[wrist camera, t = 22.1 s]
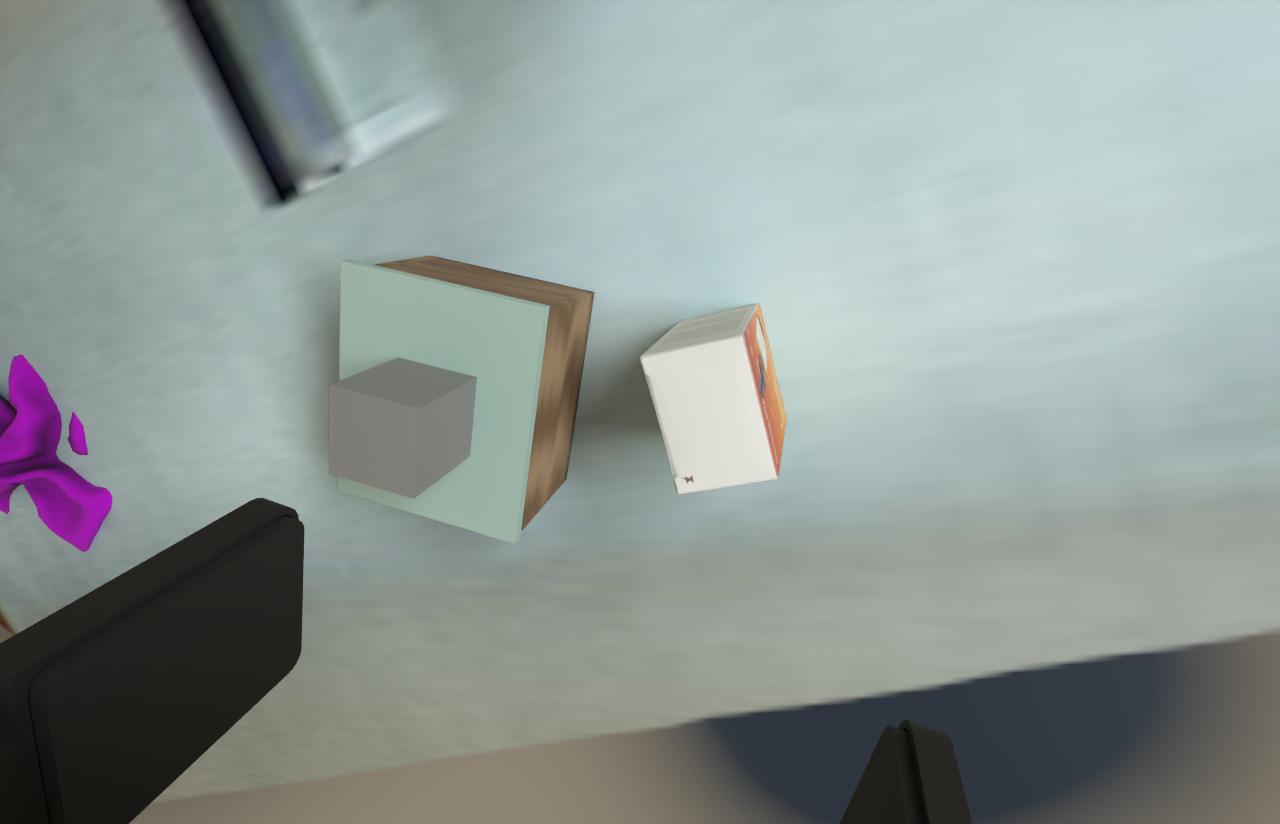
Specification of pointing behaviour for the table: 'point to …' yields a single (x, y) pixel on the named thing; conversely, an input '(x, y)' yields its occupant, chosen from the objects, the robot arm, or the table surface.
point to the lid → (462, 342)
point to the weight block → (400, 425)
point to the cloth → (46, 460)
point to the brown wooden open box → (557, 368)
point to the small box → (717, 400)
